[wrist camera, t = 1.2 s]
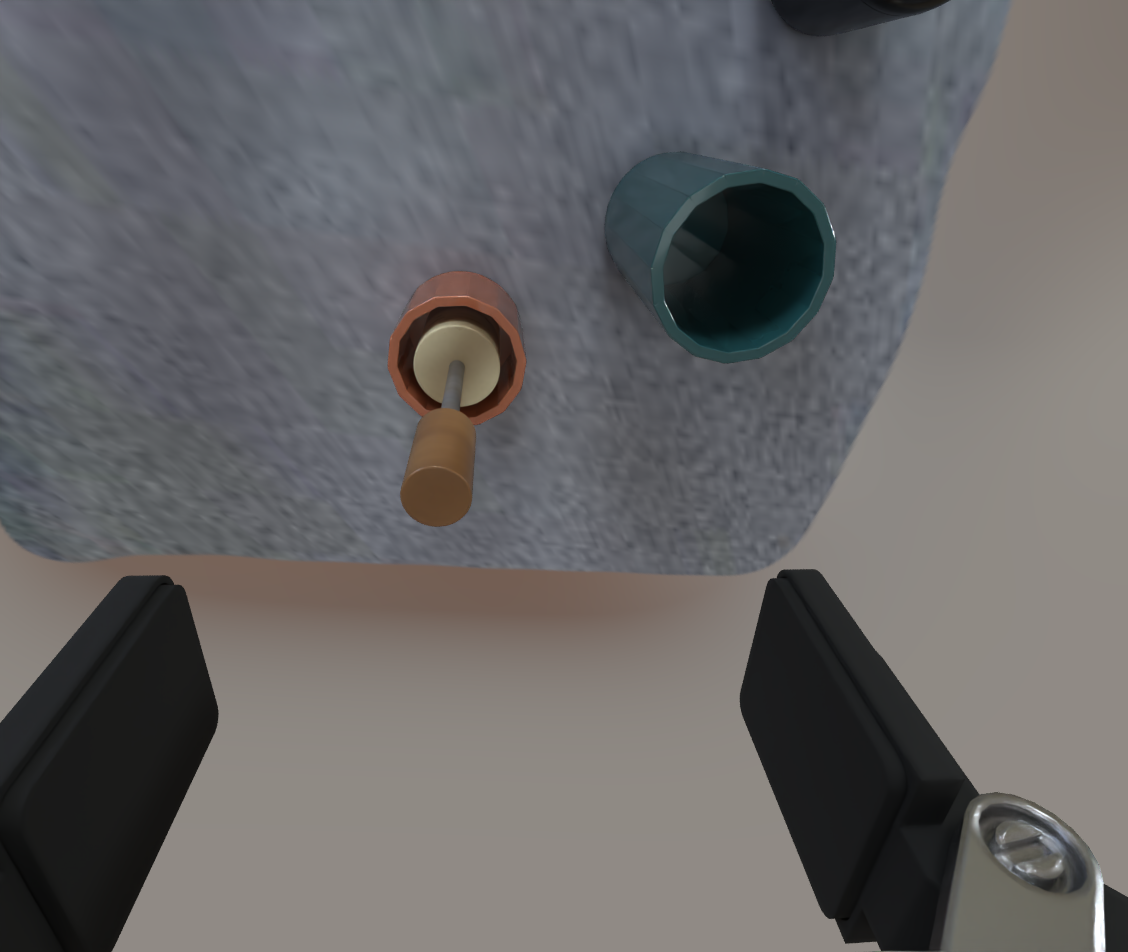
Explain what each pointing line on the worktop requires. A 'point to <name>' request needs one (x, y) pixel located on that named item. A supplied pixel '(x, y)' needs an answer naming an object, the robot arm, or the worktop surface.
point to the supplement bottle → (847, 13)
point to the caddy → (478, 296)
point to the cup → (721, 252)
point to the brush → (449, 412)
